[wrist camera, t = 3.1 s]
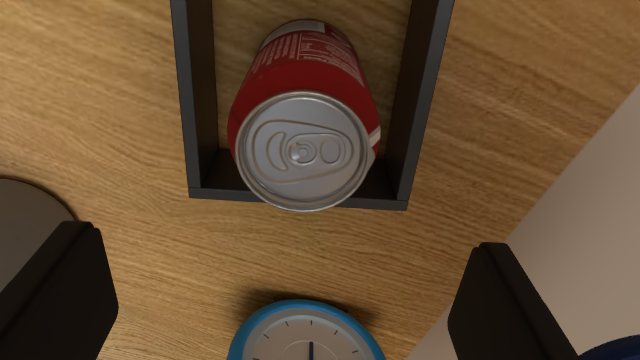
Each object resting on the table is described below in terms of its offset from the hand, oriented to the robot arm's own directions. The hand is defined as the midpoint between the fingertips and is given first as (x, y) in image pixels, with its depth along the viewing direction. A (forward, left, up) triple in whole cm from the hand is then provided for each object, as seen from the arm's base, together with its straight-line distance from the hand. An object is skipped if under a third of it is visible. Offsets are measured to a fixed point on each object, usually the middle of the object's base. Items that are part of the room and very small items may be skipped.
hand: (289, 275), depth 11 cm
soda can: (0, 0, -19) cm, 19 cm away
